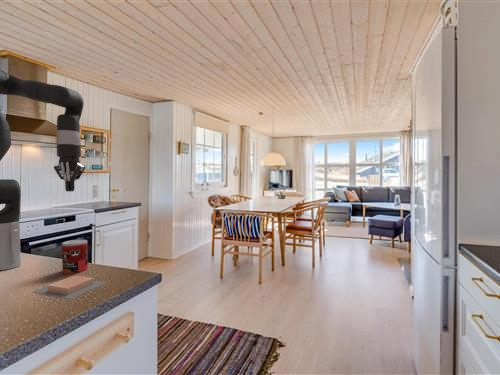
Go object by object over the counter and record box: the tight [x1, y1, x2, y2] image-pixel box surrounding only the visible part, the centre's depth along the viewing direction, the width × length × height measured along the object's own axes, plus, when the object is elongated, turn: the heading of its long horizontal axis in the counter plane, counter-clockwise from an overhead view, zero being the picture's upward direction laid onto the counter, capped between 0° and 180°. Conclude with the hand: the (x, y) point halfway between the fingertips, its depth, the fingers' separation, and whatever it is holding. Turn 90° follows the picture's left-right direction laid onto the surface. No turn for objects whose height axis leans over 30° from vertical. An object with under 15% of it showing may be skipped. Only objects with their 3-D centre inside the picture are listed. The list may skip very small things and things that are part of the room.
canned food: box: [61, 239, 89, 275], centre depth 107 cm, size 8×8×11 cm
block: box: [47, 275, 95, 295], centre depth 90 cm, size 2×9×8 cm
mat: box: [31, 280, 106, 300], centre depth 91 cm, size 15×13×1 cm
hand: (70, 191), depth 109 cm, fingers closed
